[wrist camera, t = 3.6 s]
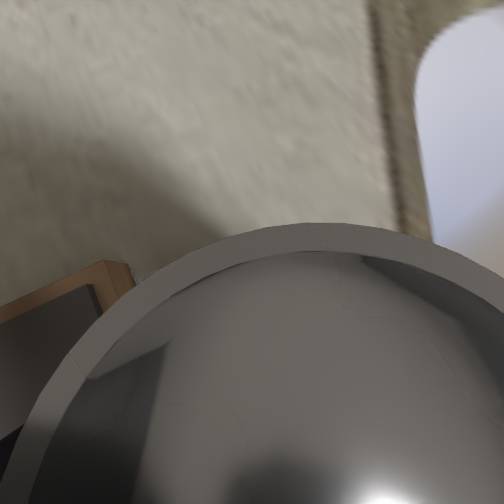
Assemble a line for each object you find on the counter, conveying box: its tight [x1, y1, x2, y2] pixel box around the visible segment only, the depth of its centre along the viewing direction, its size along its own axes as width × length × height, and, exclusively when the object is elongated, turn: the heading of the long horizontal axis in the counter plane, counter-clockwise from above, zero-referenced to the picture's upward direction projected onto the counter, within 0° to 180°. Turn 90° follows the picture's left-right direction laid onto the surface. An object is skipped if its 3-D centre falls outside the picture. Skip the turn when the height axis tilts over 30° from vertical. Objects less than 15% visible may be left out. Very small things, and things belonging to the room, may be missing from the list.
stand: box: [0, 260, 136, 440], centre depth 13 cm, size 11×11×3 cm
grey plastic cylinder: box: [0, 223, 504, 504], centre depth 8 cm, size 7×7×13 cm
